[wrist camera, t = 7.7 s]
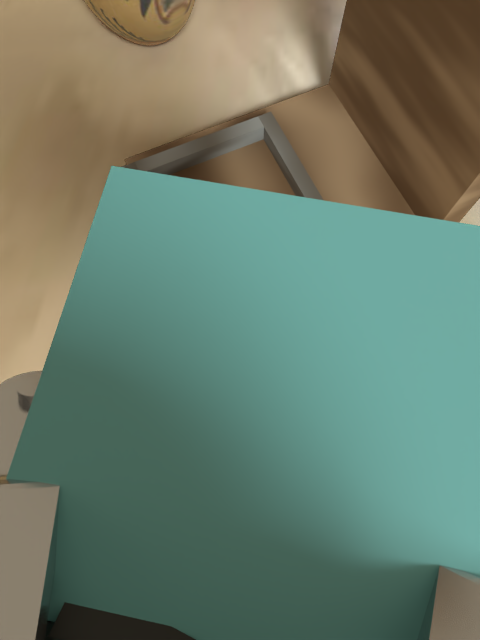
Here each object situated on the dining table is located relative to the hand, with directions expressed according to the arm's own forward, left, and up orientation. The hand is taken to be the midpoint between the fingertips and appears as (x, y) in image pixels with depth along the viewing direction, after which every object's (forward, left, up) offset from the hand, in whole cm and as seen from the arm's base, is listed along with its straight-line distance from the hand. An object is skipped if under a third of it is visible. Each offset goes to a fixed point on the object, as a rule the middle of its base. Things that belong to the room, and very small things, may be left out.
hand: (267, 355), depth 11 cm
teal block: (+1, -2, -4) cm, 5 cm away
